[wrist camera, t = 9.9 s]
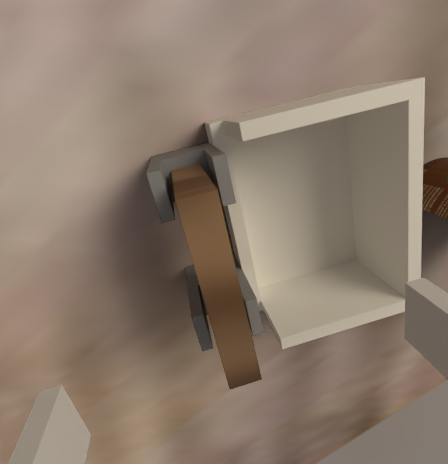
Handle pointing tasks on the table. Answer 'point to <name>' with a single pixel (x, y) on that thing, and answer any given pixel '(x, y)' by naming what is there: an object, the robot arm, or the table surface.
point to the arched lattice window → (436, 187)
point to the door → (216, 272)
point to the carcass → (314, 207)
